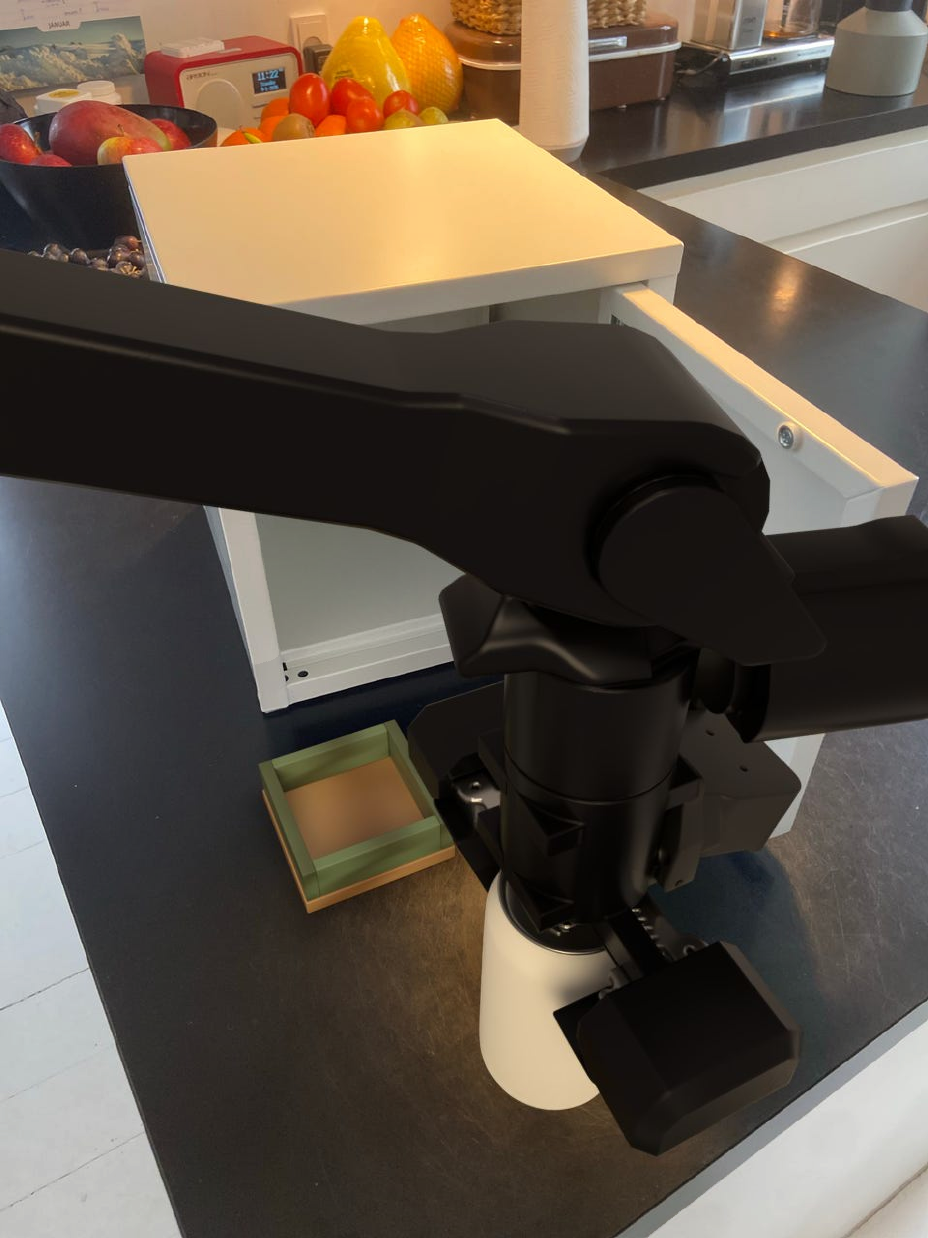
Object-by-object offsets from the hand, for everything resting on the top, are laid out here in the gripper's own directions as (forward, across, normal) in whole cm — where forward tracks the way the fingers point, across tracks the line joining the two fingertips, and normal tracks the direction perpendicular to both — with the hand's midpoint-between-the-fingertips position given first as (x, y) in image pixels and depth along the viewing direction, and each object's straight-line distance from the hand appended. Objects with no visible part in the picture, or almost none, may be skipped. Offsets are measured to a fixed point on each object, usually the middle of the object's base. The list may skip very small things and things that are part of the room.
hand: (558, 988), depth 39 cm
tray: (+9, +19, +3) cm, 21 cm away
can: (+5, 0, 0) cm, 5 cm away
